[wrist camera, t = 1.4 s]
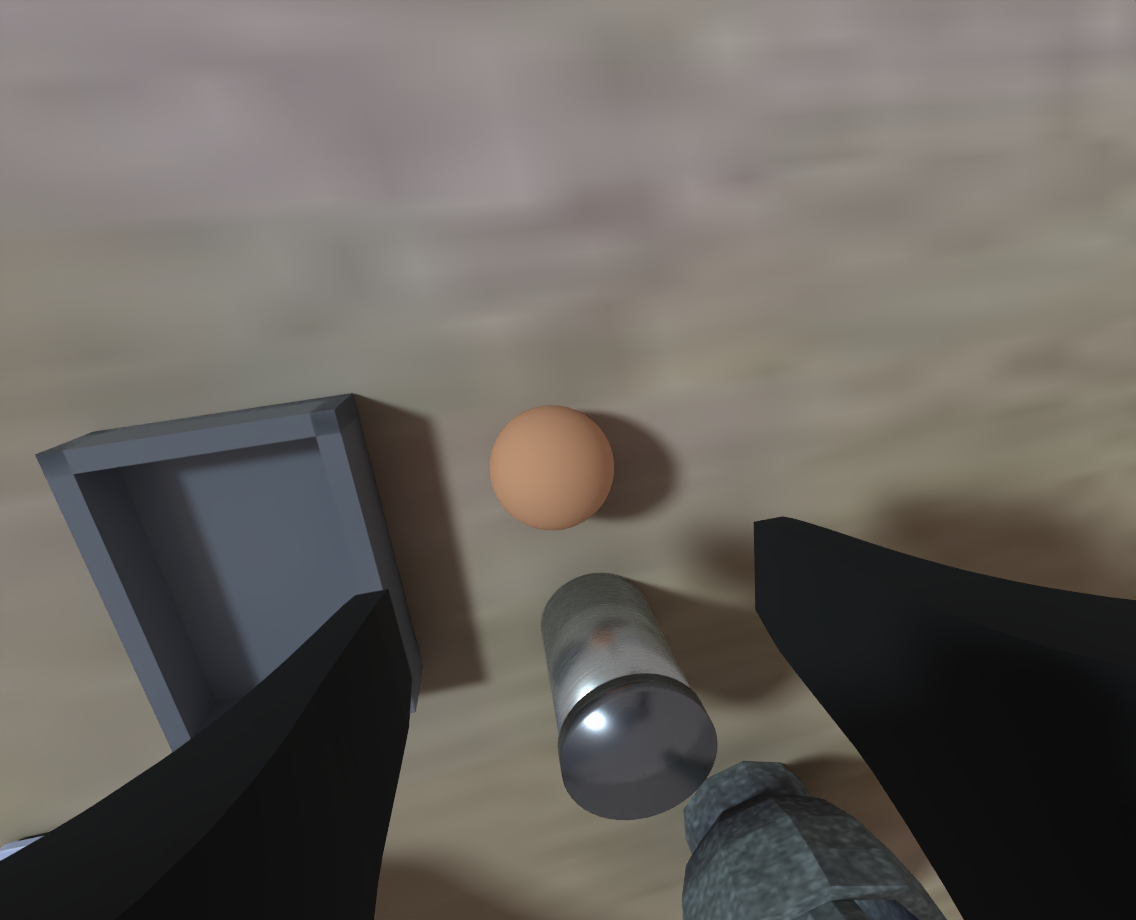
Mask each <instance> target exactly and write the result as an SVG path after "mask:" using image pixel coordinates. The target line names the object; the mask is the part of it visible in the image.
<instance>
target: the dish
mask: <svg viewBox="0 0 1136 920" xmlns="http://www.w3.org/2000/svg"><path fill="white" fill-rule="evenodd" d="M36 458H37V460H38V462H39V464H40V466H41V468H42V471H43V473H44V475H45V477H46V479H47V481H48V483H49V486H50V488H51V490H52V492H53V494H54V496H55V499H56V501H57V503H58V505H59V507H60V509H61V512H62V514H63V516H64V518H65V520H66V522H67V525H68V527H69V529H70V531H71V533H72V535H73V538H74V540H75V542H76V544H77V546H78V548H79V551H80V553H81V555H82V557H83V559H84V561H85V564H86V566H87V568H88V570H89V572H90V574H91V576H92V579H93V581H94V583H95V585H96V587H97V589H98V592H99V594H100V596H101V598H102V600H103V602H104V605H105V607H106V609H107V611H108V613H109V615H110V618H111V620H112V622H113V624H114V626H115V628H116V631H117V633H118V635H119V637H120V639H121V641H122V644H123V646H124V648H125V650H126V652H127V654H128V657H129V659H130V661H131V663H132V665H133V667H134V670H135V672H136V674H137V676H138V678H139V680H140V682H141V685H142V687H143V689H144V691H145V693H146V695H147V698H148V700H149V702H150V704H151V706H152V708H153V711H154V713H155V715H156V717H157V719H158V721H159V724H160V726H161V728H162V730H163V732H164V734H165V737H166V739H167V741H168V743H169V745H170V747H171V750H172V752H174V751H175V750H177V749H178V748H179V747H181V746H182V745H183V744H185V743H186V742H187V741H189V740H190V739H191V738H193V737H194V736H195V735H197V734H198V733H199V732H201V731H202V730H203V729H205V728H206V727H207V726H209V725H210V724H211V723H213V722H214V721H215V720H216V719H218V718H219V717H220V716H221V715H223V714H224V713H225V712H226V711H228V710H229V709H230V708H231V707H233V706H234V705H235V704H236V703H237V702H239V701H240V700H241V699H242V698H243V697H244V696H245V695H247V694H248V693H249V692H250V691H251V690H252V689H253V688H255V687H256V686H257V685H258V684H259V683H260V682H261V681H263V680H264V679H265V678H266V677H267V676H268V675H269V674H271V673H272V672H273V671H274V670H275V669H276V668H277V667H279V666H280V665H281V664H282V663H283V662H284V661H285V660H286V659H287V658H288V657H289V656H291V655H292V654H293V653H294V652H295V651H296V650H297V649H298V648H299V647H300V646H301V645H302V644H303V643H304V642H305V641H306V640H307V639H308V638H309V637H311V636H312V635H313V634H314V633H315V632H316V631H317V630H318V629H319V628H320V627H321V626H322V625H323V624H324V623H325V622H326V621H327V620H328V619H329V618H330V617H331V616H332V615H333V614H334V613H336V612H337V611H338V610H339V609H340V608H341V607H342V606H343V605H344V604H345V603H346V602H347V601H349V600H350V599H351V598H352V597H354V596H355V595H358V594H364V593H369V592H374V591H380V590H385V589H389V593H390V597H391V600H392V604H393V608H394V612H395V615H396V619H397V623H398V626H399V630H400V634H401V638H402V641H403V645H404V649H405V652H406V656H407V660H408V663H409V667H410V671H411V675H412V691H411V707H410V713H414V712H416V707H417V701H418V694H419V688H420V681H421V675H422V669H423V666H422V662H421V659H420V655H419V651H418V647H417V643H416V639H415V635H414V631H413V627H412V623H411V619H410V616H409V612H408V608H407V604H406V600H405V596H404V592H403V588H402V584H401V580H400V576H399V573H398V569H397V565H396V561H395V557H394V553H393V549H392V545H391V541H390V537H389V533H388V530H387V526H386V522H385V518H384V514H383V510H382V506H381V502H380V498H379V494H378V490H377V487H376V483H375V479H374V475H373V471H372V467H371V463H370V459H369V455H368V451H367V447H366V444H365V440H364V436H363V432H362V428H361V424H360V420H359V416H358V412H357V408H356V404H355V401H354V397H353V393H350V394H344V395H337V396H330V397H324V398H317V399H310V400H303V401H297V402H290V403H283V404H277V405H270V406H263V407H256V408H250V409H243V410H236V411H230V412H223V413H216V414H210V415H203V416H196V417H189V418H183V419H176V420H169V421H163V422H156V423H149V424H142V425H136V426H129V427H122V428H116V429H109V430H102V431H96V432H91V433H89V434H86V435H84V436H81V437H79V438H76V439H74V440H71V441H69V442H66V443H63V444H61V445H58V446H56V447H53V448H51V449H48V450H46V451H43V452H41V453H38V454H36Z"/></svg>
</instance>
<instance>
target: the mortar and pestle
mask: <svg viewBox="0 0 1136 920" xmlns="http://www.w3.org/2000/svg"><path fill="white" fill-rule="evenodd" d="M684 820H685V835H686V841H687V843H688V845H689V848H690V850H691V852H692V856H691V858H690V860H689V861H688V863H687V865H686V871H685V879H684V886H683V894H682V909H683V920H947V919H946V918H945V916H944V915H943V914H942V912H941V911H940V909H939V908H938V907H937V905H936V904H935V903H934V901H933V900H932V898H931V897H930V896H929V894H928V893H927V891H926V890H925V889H924V887H923V886H922V885H921V883H920V882H919V881H918V880H917V879H916V878H915V877H914V876H913V875H912V874H911V873H910V871H909V870H908V869H907V868H906V867H905V866H904V865H903V864H902V863H901V862H900V861H899V860H898V858H897V857H896V856H895V855H894V854H893V853H892V852H891V851H890V850H889V849H888V848H887V847H886V846H885V845H884V844H883V843H882V842H881V841H879V840H878V839H877V838H876V837H875V836H874V835H873V834H872V833H871V832H870V831H868V830H867V829H866V828H865V827H864V826H863V825H862V824H861V823H860V822H859V821H857V820H856V819H855V818H854V817H853V816H851V815H850V814H848V813H846V812H844V811H843V810H841V809H839V808H838V807H836V806H834V805H833V804H831V803H829V802H827V801H826V800H824V799H819V798H812V797H810V795H809V793H808V791H807V790H806V788H805V786H804V784H803V783H802V782H801V781H800V780H799V779H798V778H797V777H796V776H795V775H794V774H792V773H791V772H790V771H789V770H788V769H787V768H786V767H785V766H784V765H782V764H781V763H775V762H750V761H743V762H741V763H738V764H736V765H734V766H732V767H730V768H728V769H726V770H724V771H722V772H720V773H718V774H716V775H714V776H712V777H709V778H707V779H706V780H705V781H704V782H703V784H702V785H701V786H700V788H699V789H698V791H697V792H696V793H695V795H694V796H693V797H692V799H691V800H690V802H689V803H688V804H687V806H686V807H685V808H684Z"/></svg>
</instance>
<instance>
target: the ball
mask: <svg viewBox="0 0 1136 920" xmlns="http://www.w3.org/2000/svg"><path fill="white" fill-rule="evenodd" d="M489 471H490V479H491V483H492V487H493V490H494V492H495V495H496V497H497V498H498V500H499V502H500V503H501V505H502V506H503V507H504V508H505V510H506V511H507V512H508V513H509V514H510V515H511V516H513V517H514V518H516V519H517V520H518V521H520V522H522V523H524V524H526V525H528V526H531V527H533V528H537V529H542V530H561V529H566V528H570V527H573V526H575V525H578V524H580V523H582V522H584V521H585V520H587V519H588V518H590V517H591V516H592V515H593V514H594V513H596V511H597V510H598V509H599V508H600V507H601V506H602V504H603V503H604V501H605V500H606V498H607V496H608V494H609V491H610V489H611V486H612V482H613V478H614V458H613V453H612V450H611V446H610V444H609V442H608V440H607V438H606V436H605V434H604V433H603V431H602V430H601V429H600V428H599V426H598V425H597V424H596V423H595V422H593V421H592V420H591V419H590V418H589V417H587V416H586V415H584V414H583V413H581V412H579V411H576V410H574V409H571V408H568V407H562V406H541V407H536V408H533V409H530V410H527V411H525V412H523V413H521V414H520V415H518V416H517V417H515V418H514V419H513V420H511V421H510V422H509V423H508V424H507V425H506V426H505V428H504V429H503V430H502V431H501V433H500V434H499V436H498V437H497V439H496V441H495V443H494V446H493V449H492V452H491V458H490V468H489Z"/></svg>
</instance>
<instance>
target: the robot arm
mask: <svg viewBox="0 0 1136 920" xmlns="http://www.w3.org/2000/svg"><path fill="white" fill-rule="evenodd" d="M754 556H755V609H756V611H757V613H758V615H759V617H760V618H761V620H762V622H763V624H764V625H765V627H766V629H767V631H768V633H769V634H770V636H771V638H772V639H773V641H774V643H775V644H776V646H777V647H778V649H779V651H780V652H781V653H782V655H783V656H784V657H785V659H786V660H787V661H788V663H789V664H790V665H791V667H792V668H793V669H794V670H795V672H796V673H797V674H798V676H799V677H800V678H801V680H802V681H803V682H804V683H805V685H806V686H807V687H808V688H809V690H810V691H811V692H812V693H813V695H814V696H815V697H816V699H817V700H818V701H819V702H820V704H821V705H822V706H823V707H824V709H825V710H826V711H827V712H828V714H829V715H830V716H831V717H832V719H833V720H834V721H835V723H836V724H837V725H838V726H839V728H840V729H841V730H842V731H843V733H844V734H845V735H846V736H847V738H848V739H849V740H850V742H851V743H852V744H853V745H854V747H855V748H856V749H857V751H858V752H859V753H860V755H861V756H862V758H863V759H864V760H865V762H866V763H867V764H868V766H869V767H870V769H871V770H872V771H873V773H874V774H875V776H876V778H877V779H878V781H879V782H880V784H881V785H882V787H883V788H884V790H885V792H886V793H887V795H888V796H889V798H890V799H891V801H892V802H893V804H894V805H895V807H896V809H897V810H898V812H899V813H900V815H901V816H902V818H903V819H904V821H905V823H906V824H907V826H908V827H909V829H910V831H911V832H912V834H913V835H914V837H915V839H916V840H917V842H918V844H919V845H920V847H921V849H922V850H923V852H924V853H925V855H926V857H927V858H928V860H929V862H930V863H931V865H932V867H933V868H934V870H935V871H936V873H937V875H938V876H939V878H940V880H941V881H942V883H943V885H944V886H945V888H946V890H947V891H948V893H949V895H950V896H951V898H952V900H953V902H954V903H955V905H956V907H957V909H958V910H959V912H960V914H961V916H962V917H963V919H964V920H1136V600H1128V599H1119V598H1111V597H1104V596H1098V595H1091V594H1085V593H1078V592H1072V591H1065V590H1059V589H1053V588H1047V587H1041V586H1036V585H1030V584H1025V583H1020V582H1015V581H1011V580H1006V579H1001V578H997V577H992V576H988V575H983V574H978V573H974V572H970V571H966V570H962V569H958V568H954V567H950V566H946V565H942V564H939V563H935V562H932V561H928V560H925V559H921V558H917V557H914V556H910V555H907V554H904V553H901V552H897V551H894V550H891V549H888V548H884V547H881V546H878V545H875V544H872V543H869V542H866V541H863V540H860V539H857V538H854V537H851V536H848V535H845V534H842V533H839V532H836V531H833V530H830V529H827V528H823V527H820V526H817V525H814V524H811V523H807V522H804V521H800V520H797V519H793V518H788V517H778V518H772V519H767V520H761V521H756V522H754ZM411 691H412V675H411V671H410V667H409V663H408V660H407V656H406V652H405V649H404V645H403V641H402V638H401V634H400V630H399V626H398V623H397V619H396V615H395V612H394V608H393V604H392V600H391V597H390V593H389V589H385V590H380V591H374V592H369V593H364V594H358V595H355V596H354V597H352V598H351V599H350V600H349V601H347V602H346V603H345V604H344V605H343V606H342V607H341V608H340V609H339V610H338V611H337V612H336V613H334V614H333V615H332V616H331V617H330V618H329V619H328V620H327V621H326V622H325V623H324V624H323V625H322V626H321V627H320V628H319V629H318V630H317V631H316V632H315V633H314V634H313V635H312V636H311V637H309V638H308V639H307V640H306V641H305V642H304V643H303V644H302V645H301V646H300V647H299V648H298V649H297V650H296V651H295V652H294V653H293V654H292V655H291V656H289V657H288V658H287V659H286V660H285V661H284V662H283V663H282V664H281V665H280V666H279V667H277V668H276V669H275V670H274V671H273V672H272V673H271V674H269V675H268V676H267V677H266V678H265V679H264V680H263V681H261V682H260V683H259V684H258V685H257V686H256V687H255V688H253V689H252V690H251V691H250V692H249V693H248V694H247V695H245V696H244V697H243V698H242V699H241V700H240V701H239V702H237V703H236V704H235V705H234V706H233V707H231V708H230V709H229V710H228V711H226V712H225V713H224V714H223V715H221V716H220V717H219V718H218V719H216V720H215V721H214V722H213V723H211V724H210V725H209V726H207V727H206V728H205V729H203V730H202V731H201V732H199V733H198V734H197V735H195V736H194V737H193V738H191V739H190V740H189V741H187V742H186V743H185V744H183V745H182V746H181V747H179V748H178V749H177V750H175V751H174V752H172V753H171V754H170V755H168V756H167V757H165V758H164V759H163V760H161V761H160V762H158V763H157V764H155V765H154V766H152V767H151V768H149V769H148V770H146V771H145V772H143V773H142V774H140V775H139V776H137V777H136V778H134V779H133V780H131V781H130V782H128V783H127V784H125V785H123V786H122V787H120V788H119V789H117V790H116V791H114V792H113V793H111V794H110V795H108V796H107V797H105V798H104V799H102V800H101V801H99V802H98V803H96V804H95V805H93V806H92V807H90V808H89V809H87V810H85V811H84V812H82V813H81V814H79V815H77V816H76V817H74V818H72V819H71V820H69V821H67V822H66V823H64V824H62V825H61V826H59V827H57V828H56V829H54V830H52V831H51V832H49V833H48V834H46V835H44V836H40V837H35V838H30V839H26V840H21V841H16V842H12V843H8V844H5V845H4V846H3V847H2V848H1V849H0V920H374V914H375V905H376V896H377V887H378V880H379V874H380V868H381V862H382V856H383V851H384V846H385V841H386V837H387V832H388V827H389V822H390V817H391V813H392V808H393V803H394V798H395V793H396V789H397V784H398V779H399V774H400V770H401V765H402V760H403V755H404V750H405V745H406V740H407V734H408V729H409V719H410V707H411Z"/></svg>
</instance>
